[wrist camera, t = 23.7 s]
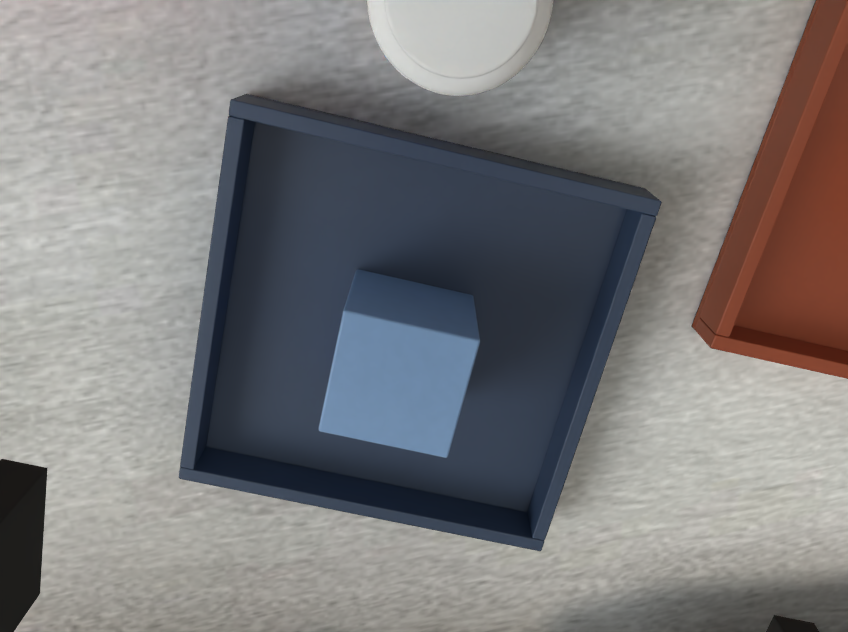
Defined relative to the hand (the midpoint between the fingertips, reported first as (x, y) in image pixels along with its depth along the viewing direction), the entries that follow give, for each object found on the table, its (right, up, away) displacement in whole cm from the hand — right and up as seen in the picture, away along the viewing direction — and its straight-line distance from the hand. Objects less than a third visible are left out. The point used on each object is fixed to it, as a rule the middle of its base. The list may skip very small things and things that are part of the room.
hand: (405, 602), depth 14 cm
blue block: (-1, +4, +19) cm, 19 cm away
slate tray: (0, +5, +19) cm, 20 cm away
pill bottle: (+1, +17, +15) cm, 22 cm away
